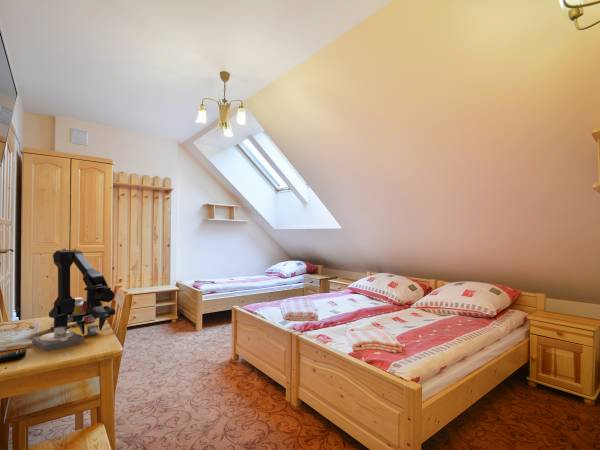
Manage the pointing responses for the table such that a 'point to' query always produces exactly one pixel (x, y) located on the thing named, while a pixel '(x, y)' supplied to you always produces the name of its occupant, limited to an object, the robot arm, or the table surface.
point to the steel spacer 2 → (92, 330)
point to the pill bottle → (78, 305)
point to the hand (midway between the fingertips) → (91, 332)
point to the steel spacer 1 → (60, 332)
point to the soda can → (88, 319)
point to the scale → (57, 341)
